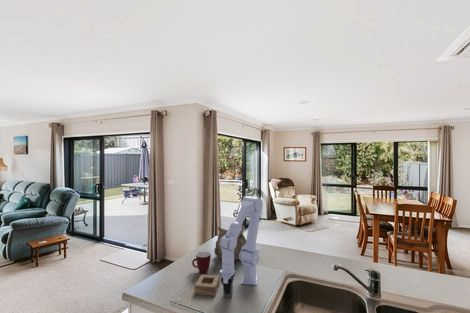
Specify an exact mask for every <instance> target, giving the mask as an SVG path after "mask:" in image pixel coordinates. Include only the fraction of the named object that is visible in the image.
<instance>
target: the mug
mask: <svg viewBox="0 0 470 313" xmlns="http://www.w3.org/2000/svg"><path fill="white" fill-rule="evenodd" d="M211 258H212V257H211V253H210V252H208V251H200V252H198V253H196V255H195V258H194V259H192V261H191V265H192V267H194V268H195V269H196V268H197V270H198V271H199V273H200V274H203V275H205V274H206V272H207V273H208V271H209V269H210V266H211V265H210V264H211ZM195 261H196V265H195ZM204 273H205V274H204Z"/></svg>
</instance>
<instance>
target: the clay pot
mask: <svg viewBox="0 0 470 313" xmlns="http://www.w3.org/2000/svg"><path fill="white" fill-rule="evenodd" d="M241 226H242V229H241V231H240V233H239V235H238V237H237V245H236V247H235V249H234V261H237V260H240V259H239V254H240V251H241V248H242V246H244V245H245V244H246V240H247V238H246V237H245V235H244V231H245V229H246V228H245V225H243V223H242V224H241ZM216 227H217V230H218V236H217V240H216V241H215V247H214V250H213V253H214V255H215V256H216V257H217V258H219V259H220V260H222V251H221V247H220V245H219V243H220V239H221V238H222V237H223V236H225V235H226V233H227V231H228V229H224V228H222V227H221V226H218V225H217V226H216Z"/></svg>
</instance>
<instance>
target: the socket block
mask: <svg viewBox="0 0 470 313" xmlns="http://www.w3.org/2000/svg"><path fill="white" fill-rule="evenodd" d="M220 284H221V276H220V275H218V274H217V275H216V274H202V273H200V275H199V278H198V279H197V281H196V283H195V285H194V295H201V296H203V295H204V296H213V297H214V296H215V297H216V294H217V292H218V290H219V287H220Z"/></svg>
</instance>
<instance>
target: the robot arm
mask: <svg viewBox="0 0 470 313" xmlns="http://www.w3.org/2000/svg"><path fill="white" fill-rule="evenodd" d="M240 206H241V207H240V209H239V211H238V213H237V216H236V219H235V221H233V222H231V224H230V225H229V227H228V229H227V230H228V231H227V233H226V235H225V236H223V237H222V238H221V239H220V243H219V245H220V247H221V251H222V259H221V269H220V270H219V274H221V275H222V277H220V283H221V284H222V287H224V291H225V294H230V290H231V284H232V282H233V283H234V277H235V274H236V272H235V260H234V249H235V247H236V245H237V237H238V235H239V233H240V231H241V229H242V226H241V224H242V225H243V222H244V221H245V219H246V218H247V216H248V214H249V222H248V227H247V234H246V244H245V245H244V246H242V248H241V251H240V254H239V259H238V260H240V261H241V264H242V278H241V281H240V282H241V283H240V284H241V285H252V286H253V285H255V286H257V284H258V275H257V265H258V264H259V263H260V260H261V258H260V249H259V248H258V246H257V245H256V244H257V239H258V233H259V225H260V218H261V214H262V209H263V200H262V199H261V197H255V196H248V195H244V196H243V197H242V199H241V201H240ZM230 278H233V279H230Z"/></svg>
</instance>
